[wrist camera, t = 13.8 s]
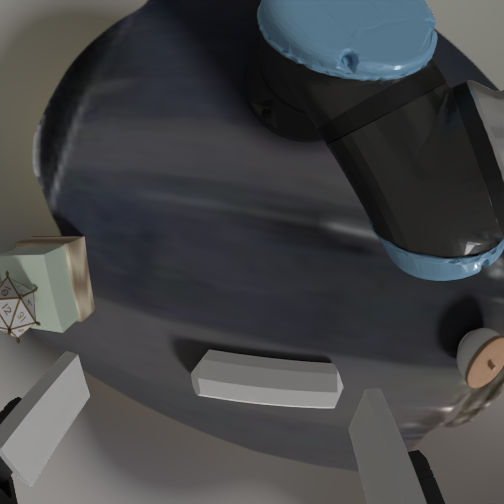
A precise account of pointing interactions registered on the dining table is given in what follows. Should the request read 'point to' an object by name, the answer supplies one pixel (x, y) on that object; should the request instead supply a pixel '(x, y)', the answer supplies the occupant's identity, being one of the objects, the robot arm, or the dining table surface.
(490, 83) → the dining table surface
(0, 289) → the game die
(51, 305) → the tower top block
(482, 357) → the lidded jar
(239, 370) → the chamfered grey bar
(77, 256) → the tower base block
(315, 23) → the robot arm
